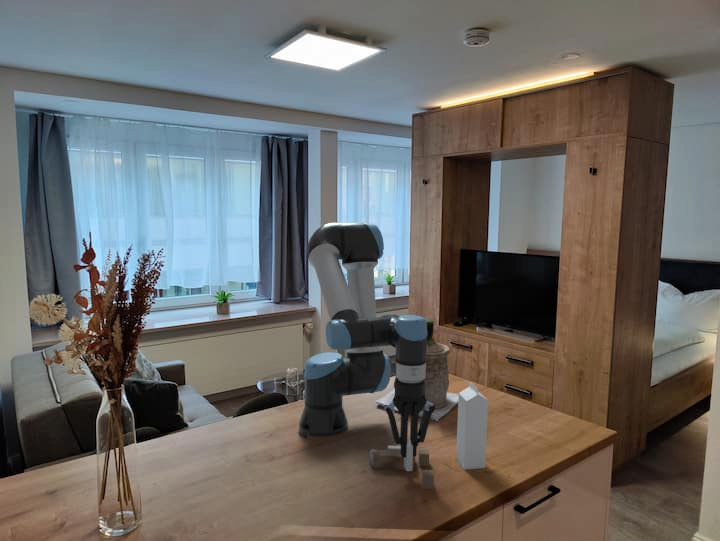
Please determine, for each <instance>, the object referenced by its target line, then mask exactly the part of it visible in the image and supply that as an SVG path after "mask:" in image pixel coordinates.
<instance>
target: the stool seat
mask: <svg viewBox="0 0 720 541" xmlns="http://www.w3.org/2000/svg"><path fill="white" fill-rule="evenodd" d="M387 450H390V451H400V450H401V445H387ZM418 465H419V467H429V466H430V451H429V449H426V448H425V449H424V448H419V449H418ZM421 472H422V473H421V474H422V475H421V484H422V489H423V490H424V489H425V490H426V489H427V490H429V489H430V490H434V486H435V485H434V484H435V483H434V482H435V475H434V470H433V469H429V470H427V469H422V471H421Z"/></svg>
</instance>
